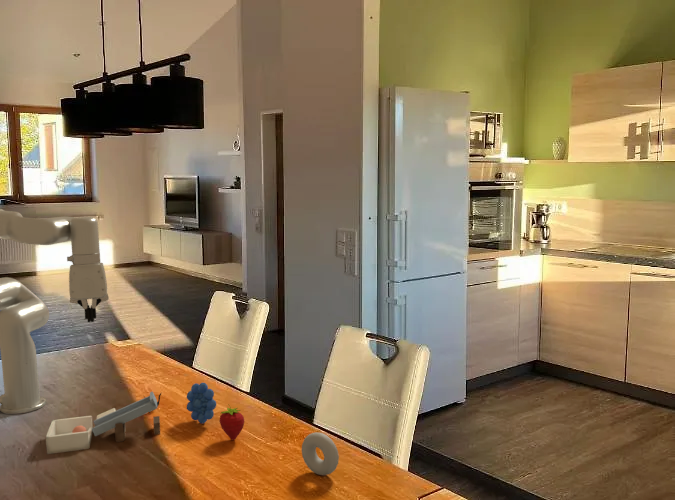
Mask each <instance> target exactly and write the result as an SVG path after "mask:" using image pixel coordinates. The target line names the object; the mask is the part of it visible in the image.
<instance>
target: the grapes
mask: <svg viewBox="0 0 675 500" xmlns="http://www.w3.org/2000/svg"><path fill="white" fill-rule="evenodd" d="M214 395H215V392H214V390H213V389H212V388H209V386H208V384H207V383H206V382H201V383H196V382H195V383H193V384H192V386H191V389H190V390H189V391H188V392H187V394H186V399H187V401H188V402H187V404H186V411H187V410H188V411H189V412H191V414H190V417H191V419H192V420H194V421H198V422H199V424H202V425H203V424H205V423H206V422H207V421H209V420H212V419H213V418H214V415H215V413H214V410H215V409H216V408H217V402H216V399H214Z"/></svg>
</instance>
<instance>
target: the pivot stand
mask: <svg viewBox="0 0 675 500" xmlns="http://www.w3.org/2000/svg"><path fill="white" fill-rule="evenodd" d="M125 432H127V430H126V423H124V424H123V423H117V424H115V428H114V440H115V442H116V443H120V442H124V441H125V440H126V433H125Z"/></svg>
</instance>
